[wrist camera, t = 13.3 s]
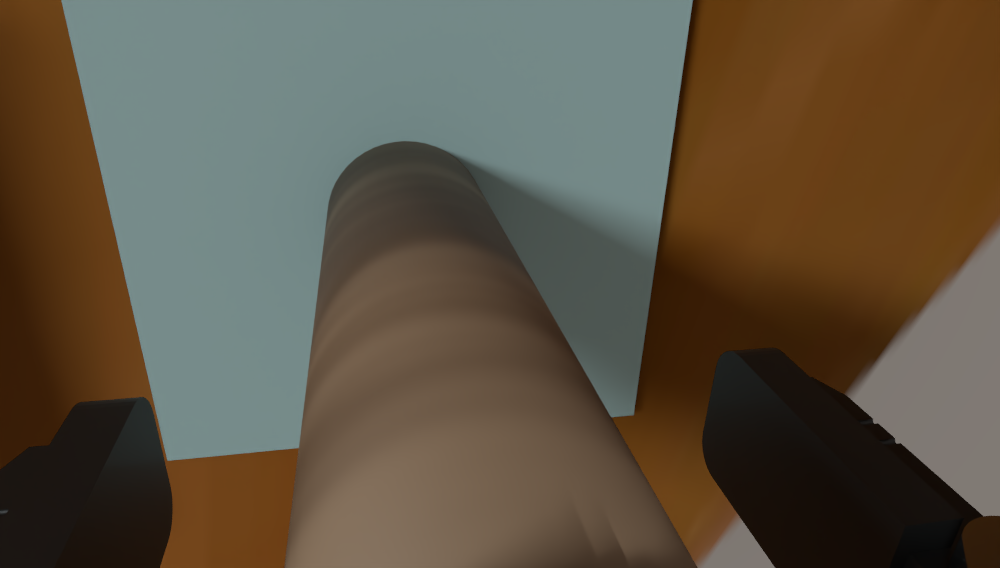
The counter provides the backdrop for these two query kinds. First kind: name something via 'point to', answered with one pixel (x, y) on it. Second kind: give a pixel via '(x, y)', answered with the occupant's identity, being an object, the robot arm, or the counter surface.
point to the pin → (452, 397)
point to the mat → (342, 138)
